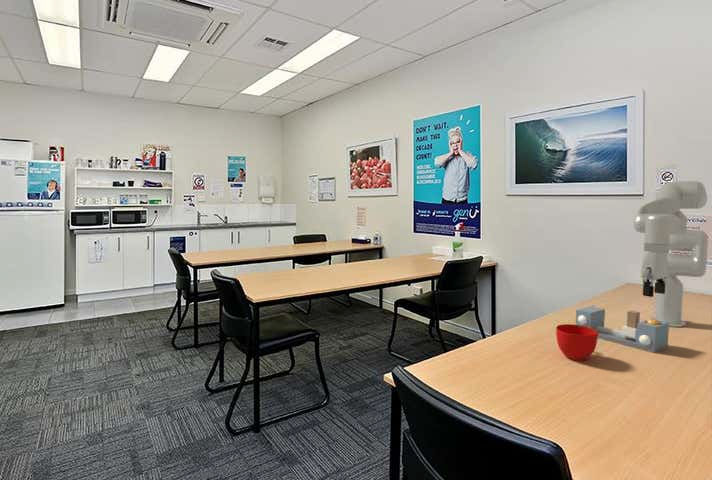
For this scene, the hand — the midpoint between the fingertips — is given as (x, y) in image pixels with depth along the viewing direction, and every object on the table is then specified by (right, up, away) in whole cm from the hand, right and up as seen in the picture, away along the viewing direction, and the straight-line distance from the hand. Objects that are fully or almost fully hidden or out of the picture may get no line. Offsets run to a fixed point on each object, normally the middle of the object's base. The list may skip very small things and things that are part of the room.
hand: (653, 294), depth 150 cm
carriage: (-3, -18, +7) cm, 19 cm away
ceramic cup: (-32, -21, -5) cm, 39 cm away
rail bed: (-6, -19, +11) cm, 23 cm away
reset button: (0, -13, +1) cm, 13 cm away
